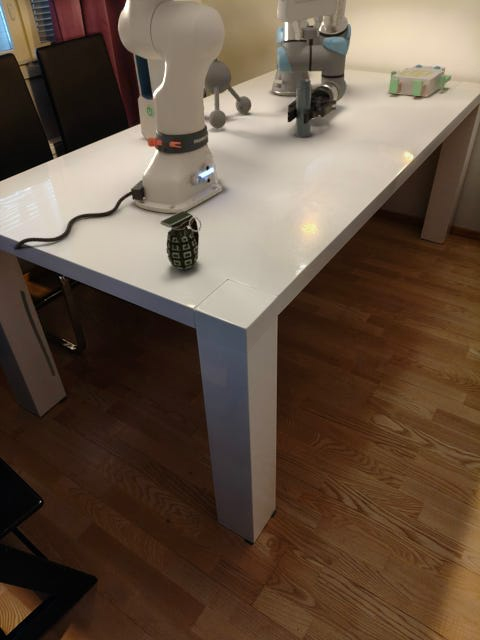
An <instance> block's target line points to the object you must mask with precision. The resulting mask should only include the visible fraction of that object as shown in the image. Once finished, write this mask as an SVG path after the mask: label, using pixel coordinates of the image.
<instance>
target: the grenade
mask: <svg viewBox="0 0 480 640" xmlns="http://www.w3.org/2000/svg"><path fill="white" fill-rule="evenodd" d="M198 222H199V226H198ZM159 224H160V225H162V226H164V227H166V228H169V230H168V231H167V236H166V254H167V259H168V261H169V263H170V265H171V266H172V267H174V268H176V269H178V270H181V271H186V270H189V269H192V267H194V266H195V265H196V264H197V262H198V261H197V260H198V259H199V243H200V241H199V240H200V233H199V232H200V231H201V228H202V221H201V220H200V219H199V218H198V217H197V216H194V215H193V214H192V213H189V212H187V211H185V212H184V211H181V212H179V213H174V214H172V215H170V216H169V217H166V218H165V219H162V220H160V222H159ZM198 227H199V228H198Z"/></svg>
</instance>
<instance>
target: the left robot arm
mask: <svg viewBox="0 0 480 640" xmlns="http://www.w3.org/2000/svg"><path fill="white" fill-rule="evenodd" d="M337 9H338V0H277V15H276V16H277V20H278V21H279V23H284V22H286V23H288V22H292V26H293V28H294V31H295V39H296V40H302V39H303V38H304V36H303V35H304V32H302V31H301V27H300V25H302V20H305V19H307V20H310V19H313V22H314V23H313V25H314V27H313V28H317V36H319V29H320V27H321V24H322V22H323V16H327V15H333V14H335V13H336V11H337ZM117 27H118V28H117V31H118V35H119V39H120V41H121V44H122V45H123V46H124V48H125V49H126V50H127V51H128V52H130V53H131V54H133V53H134V54H136V55H138V56H140V57H143V58H145V59H150V60H160V61H164V62H165V76H164V80H163V83H161V84H160V85H159V86H158V87H157V88H156V90H155V91H154V95H153V101H154V108H155V114H156V121H157V128H158V129H157V130H156V138H152V137H150V138H149V139H147V146H149V147H151V148H152V147H154V148H155V151H154V153H153V155H152V157H151V159H150V162H149V163H148V165H147V167H146V169H145V172H144V173H143V176H142V179H141V180H140V181H138V182H137V183H136V184H135V185H133V187H132V188H131V189H130V191H129V192H127V193H125V194H124V195H122V196H121V197H119V198H118V200H117V201H116V203H115V205H114V206H113V208H112V209H110V210H106V211H104V212H103V211H102V212H93V213H92V212H90V213H82V214H78V215H76V216H74V217H73V218H71V219H70V220H69V221H68V223H67V226H66V229H65V230H64V232H62V233H61V234H60V235H58V236H54V237H26V238H23V239H21V240H20V241H18V242H17V243H16V245H15V246H14V248H13V250H15V251H16V250H19V249H21V247H22V246H23V245H25V244H28V243H34V242H38V243H54V242H58V241H61V240H62V239H65V238H66V237H67V236H68V235H69V234H70V231H71V229H72V226H73V224H74V223H75V222H76V221H78V220H81V219H85V218H101V217H107V216H110V215H112V214H114V213H115V212H116V211H117V210H118V209H119V207H120V206H121V204H122V203H123V202H124V200H126V199H127V198H129V197H131V198H132V200H134V205H135V206H137V207H138V208H140V209H142V210H143V209H144V210H147V211H151V212H157V213H164V214H177V213H179V212H181V211H184V212H187V211H189V210H190V209H193V208H194V207H196V206H198V205H199V204H201V203H203V202H205V201H207V200H208V199H210V198H212V197H214V196H215V195H217V194H219V193H220V192H222V191H223V185H222V184H220V183H219V180H218V174H217V168H216V163H215V156H214V155H213V153H212V152H211V149H210V147H209V145H208V143H209V130H208V126H207V124H206V120H205V119H206V118H205V105H204V104H205V103H204V98H203V89H204V82H205V78H206V74H207V71H208V69H209V67H210V65H211V63H212V62H213V61H214V60H215V59H216V58H217V59H218V57H219V56H220V55H221V52H222V49H223V47H224V44H225V39H226V31H225V25H224V21H223V18H222V16H221V13H219V11H217V9H216V8H214V7H212V6H209V5H207V4H205V3H201V2H198V1H194V0H126V2H125V4H124V7H123V9H122V10H121V12H120V14H119V17H118V25H117ZM134 54H133V55H134ZM19 293H20V296H21V297H20V298H21V300H22V303H23V308H24V310H25V313H26V316H27V318H28V321H29V323H30V326H31V328H32V331H33V332H34V336H35V337H36V340H37V342H38V344H39V347H40V349H41V351H42V354H43V357H44V358H45V361H46V363H47V366H48V367H49V372H50V374H51V377H55V376H56V372H55V369H54V367H53V364H52V362H51V359H50V357H49V354H48V351H47V348H46V347H45V344H44V342H43V339H42V337H41V335H40V333H39V330H38V328H37V326H36V324H35V321H34V318H33V316H32V313H31V310H30V307H29V304H28V300H27V296H26V293H25V291H24V290H19Z"/></svg>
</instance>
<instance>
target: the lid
mask: <svg viewBox="0 0 480 640" xmlns="http://www.w3.org/2000/svg"><path fill="white" fill-rule="evenodd" d="M301 31H302V32H304V35H303V36H304V38H303V39H314V38H316V37H317V28H312V27H308V28H301Z"/></svg>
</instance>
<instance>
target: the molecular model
mask: <svg viewBox="0 0 480 640" xmlns="http://www.w3.org/2000/svg"><path fill="white" fill-rule="evenodd" d="M231 82H232V73H231V70H230V68H229V66H228V65H227V64H226V63H224V62H223V61H222V60H218V57H217V58H216V59H215V60H214V61H213V62H212V63H211V65H210V67H209V69H208V71H207V74H206V78H205V82H204V89H203V99H204V97H205V96H206V93H207V92H208V93H210V94H212V95H214V96H213V97H214V110H212V111H211V112H210V114H209V116H208V122H209V124H210V126H211V127H212V128H215V129H221V128H223V127H225V125H226V123H227V116H226V113H224V111H222V110H221V109H220V94H223V93H224V92H226V91H228V92H229V93H230V95H232V97H233V98H234V99H235V100H236V101H235V109H236V111H237V112H238V113H240V114H247V113H249V112H250V110H251V109H252V101H251V99H250V98H249V97H248V96H245V95H242V96H240V95H239V94H238V93H237V92H236V91H235V89H234V88H233V86H231Z"/></svg>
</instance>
